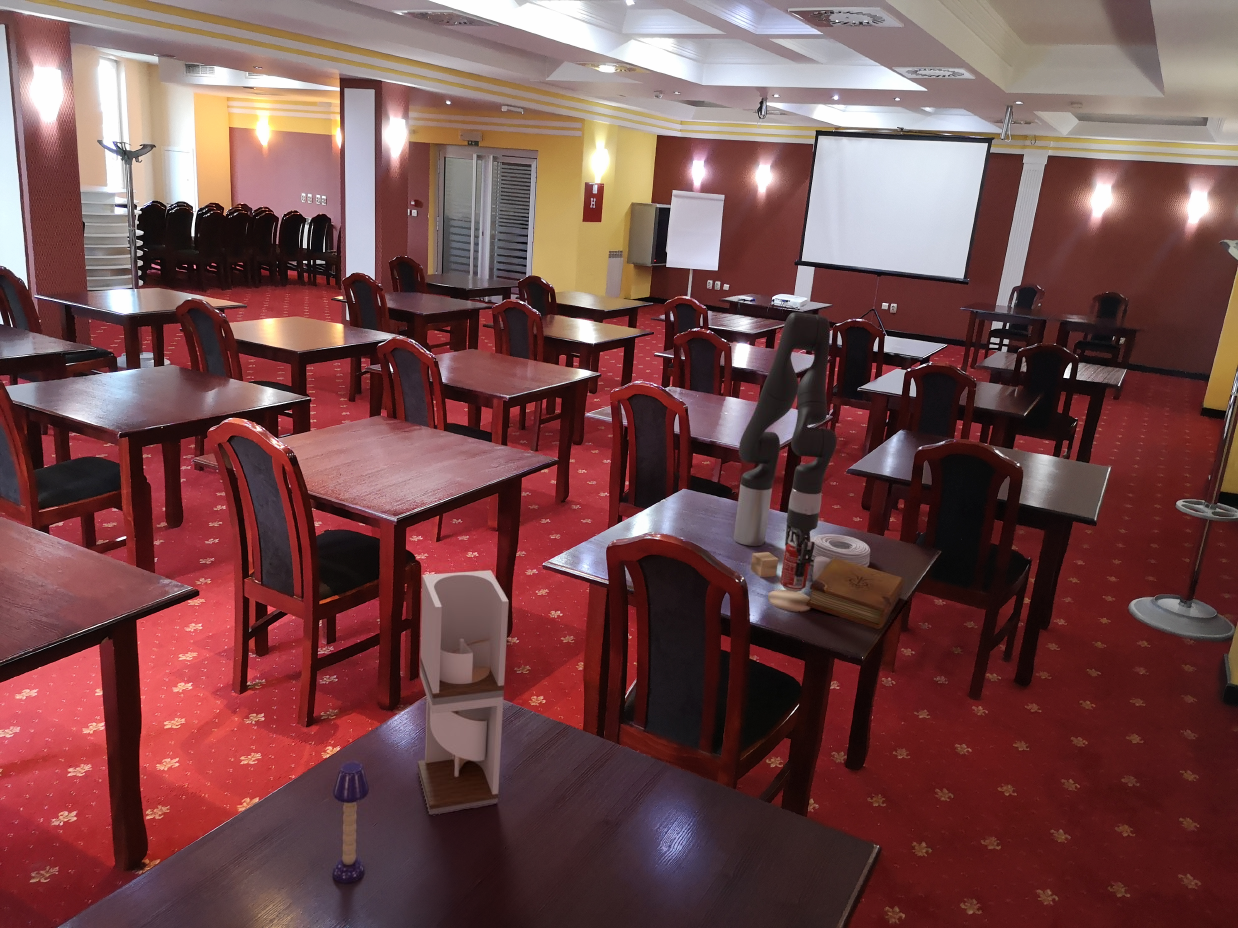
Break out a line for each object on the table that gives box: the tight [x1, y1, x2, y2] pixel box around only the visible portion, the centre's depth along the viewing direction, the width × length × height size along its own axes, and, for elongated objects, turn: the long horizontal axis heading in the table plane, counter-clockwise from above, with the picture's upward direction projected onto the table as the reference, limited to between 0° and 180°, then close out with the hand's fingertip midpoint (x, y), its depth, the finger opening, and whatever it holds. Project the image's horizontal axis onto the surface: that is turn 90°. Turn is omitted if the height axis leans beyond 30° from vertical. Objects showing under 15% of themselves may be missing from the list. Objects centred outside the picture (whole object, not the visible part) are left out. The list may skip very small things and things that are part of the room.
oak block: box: [750, 551, 779, 578], centre depth 241 cm, size 5×5×5 cm
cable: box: [809, 533, 871, 567], centre depth 255 cm, size 18×18×6 cm
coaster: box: [767, 589, 812, 613], centre depth 225 cm, size 11×11×1 cm
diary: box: [806, 558, 905, 630], centre depth 226 cm, size 23×19×6 cm
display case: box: [417, 570, 509, 815], centre depth 139 cm, size 11×11×35 cm
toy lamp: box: [332, 761, 370, 884], centre depth 122 cm, size 5×5×17 cm
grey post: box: [811, 556, 830, 582], centre depth 239 cm, size 4×4×6 cm
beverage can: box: [779, 541, 810, 593], centre depth 222 cm, size 6×6×12 cm
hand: (794, 570), depth 222 cm, fingers closed on beverage can, 6 cm apart
